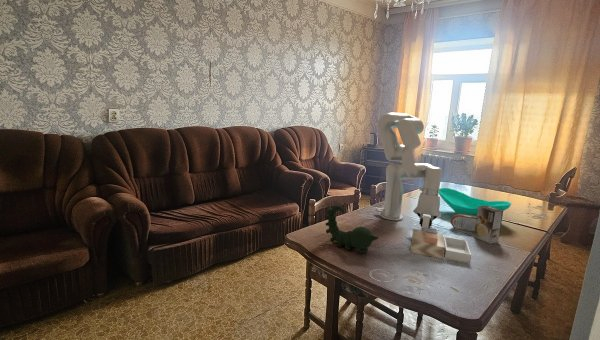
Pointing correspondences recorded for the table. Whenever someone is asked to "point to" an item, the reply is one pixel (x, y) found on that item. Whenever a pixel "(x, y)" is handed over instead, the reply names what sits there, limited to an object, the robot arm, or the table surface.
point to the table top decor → (468, 202)
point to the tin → (464, 222)
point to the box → (457, 250)
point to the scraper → (425, 222)
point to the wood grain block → (427, 245)
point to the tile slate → (430, 231)
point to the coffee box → (488, 224)
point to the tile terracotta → (431, 238)
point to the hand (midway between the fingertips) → (425, 226)
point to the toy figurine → (348, 233)
